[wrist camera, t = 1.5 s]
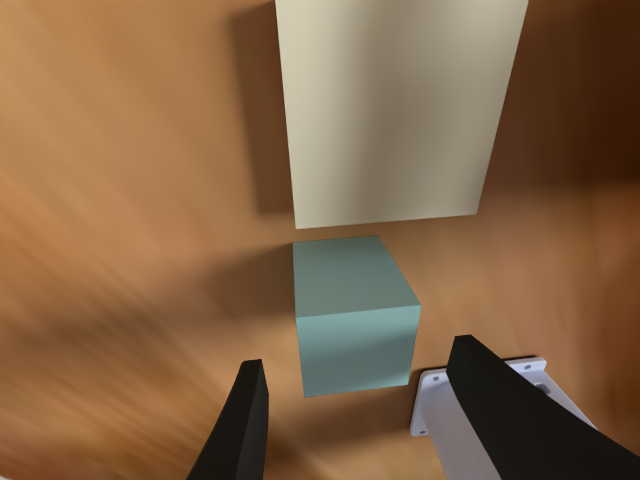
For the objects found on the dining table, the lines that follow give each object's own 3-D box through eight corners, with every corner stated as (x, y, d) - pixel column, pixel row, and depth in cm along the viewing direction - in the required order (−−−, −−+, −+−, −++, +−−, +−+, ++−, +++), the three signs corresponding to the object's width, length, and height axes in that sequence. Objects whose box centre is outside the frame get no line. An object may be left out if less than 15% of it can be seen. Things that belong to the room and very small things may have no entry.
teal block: (377, 234, 15) (421, 304, 10) (373, 300, 17) (407, 384, 12) (292, 242, 15) (295, 318, 10) (299, 308, 17) (304, 397, 12)
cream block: (492, -6, 10) (535, -26, 9) (453, 198, 14) (476, 214, 13) (275, -1, 10) (273, -21, 8) (294, 211, 14) (295, 229, 12)
